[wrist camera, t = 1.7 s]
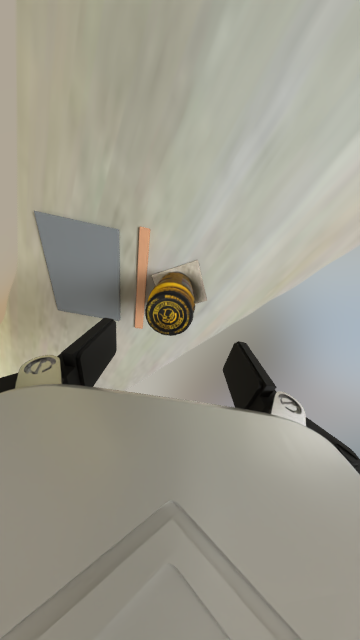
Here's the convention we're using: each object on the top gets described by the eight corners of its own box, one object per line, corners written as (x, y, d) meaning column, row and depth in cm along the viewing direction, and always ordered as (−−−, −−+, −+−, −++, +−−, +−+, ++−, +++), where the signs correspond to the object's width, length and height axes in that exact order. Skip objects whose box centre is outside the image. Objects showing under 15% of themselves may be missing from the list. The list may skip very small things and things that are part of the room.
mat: (37, 211, 20) (33, 210, 20) (119, 229, 21) (117, 229, 20) (60, 309, 28) (58, 310, 27) (120, 319, 28) (118, 321, 28)
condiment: (151, 275, 24) (125, 295, 13) (197, 259, 23) (210, 268, 12) (165, 311, 27) (153, 350, 17) (206, 299, 26) (223, 334, 15)
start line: (140, 226, 21) (139, 226, 20) (150, 229, 21) (149, 228, 20) (135, 326, 29) (134, 327, 29) (142, 327, 29) (142, 328, 29)
